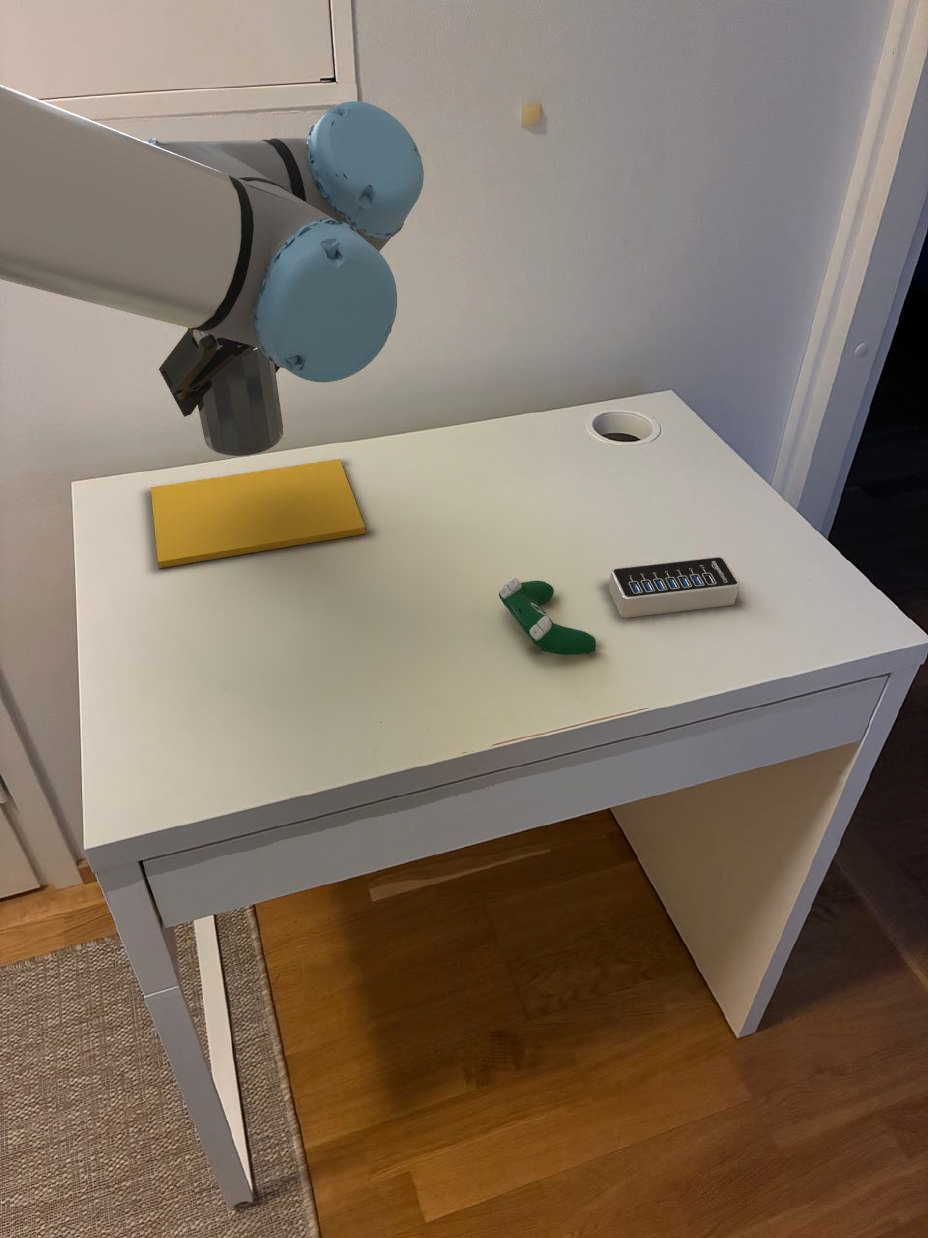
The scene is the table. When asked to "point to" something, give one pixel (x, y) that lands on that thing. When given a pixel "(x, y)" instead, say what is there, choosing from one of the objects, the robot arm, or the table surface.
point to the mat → (253, 512)
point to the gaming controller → (543, 619)
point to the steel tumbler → (242, 407)
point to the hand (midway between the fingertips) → (219, 388)
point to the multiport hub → (673, 587)
